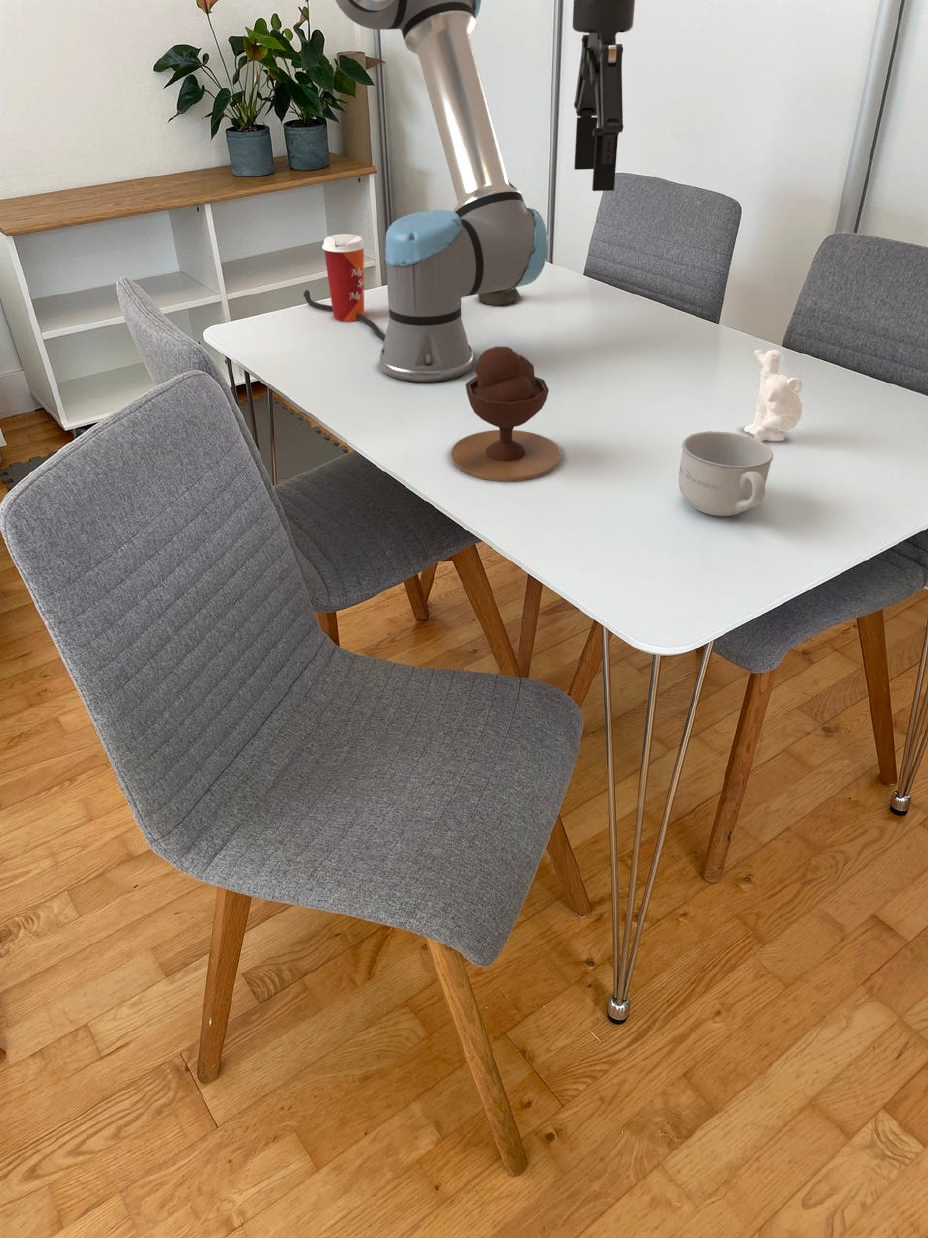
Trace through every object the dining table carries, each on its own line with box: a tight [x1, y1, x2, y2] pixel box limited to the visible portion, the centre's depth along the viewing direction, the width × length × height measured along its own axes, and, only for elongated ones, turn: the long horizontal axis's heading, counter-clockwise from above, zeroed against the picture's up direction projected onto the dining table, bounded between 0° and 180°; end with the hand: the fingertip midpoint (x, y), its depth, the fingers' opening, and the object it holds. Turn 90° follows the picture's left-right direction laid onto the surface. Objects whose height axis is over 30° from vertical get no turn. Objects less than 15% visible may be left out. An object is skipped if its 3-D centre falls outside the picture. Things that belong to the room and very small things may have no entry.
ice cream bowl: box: [465, 346, 550, 461], centre depth 133 cm, size 11×11×15 cm
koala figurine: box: [743, 348, 803, 442], centre depth 139 cm, size 8×7×12 cm
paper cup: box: [321, 233, 366, 322], centre depth 183 cm, size 8×8×14 cm
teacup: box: [678, 430, 774, 517], centre depth 123 cm, size 14×11×8 cm
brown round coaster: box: [450, 429, 562, 482], centre depth 138 cm, size 15×15×1 cm
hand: (593, 179), depth 136 cm, fingers open, 13 cm apart
